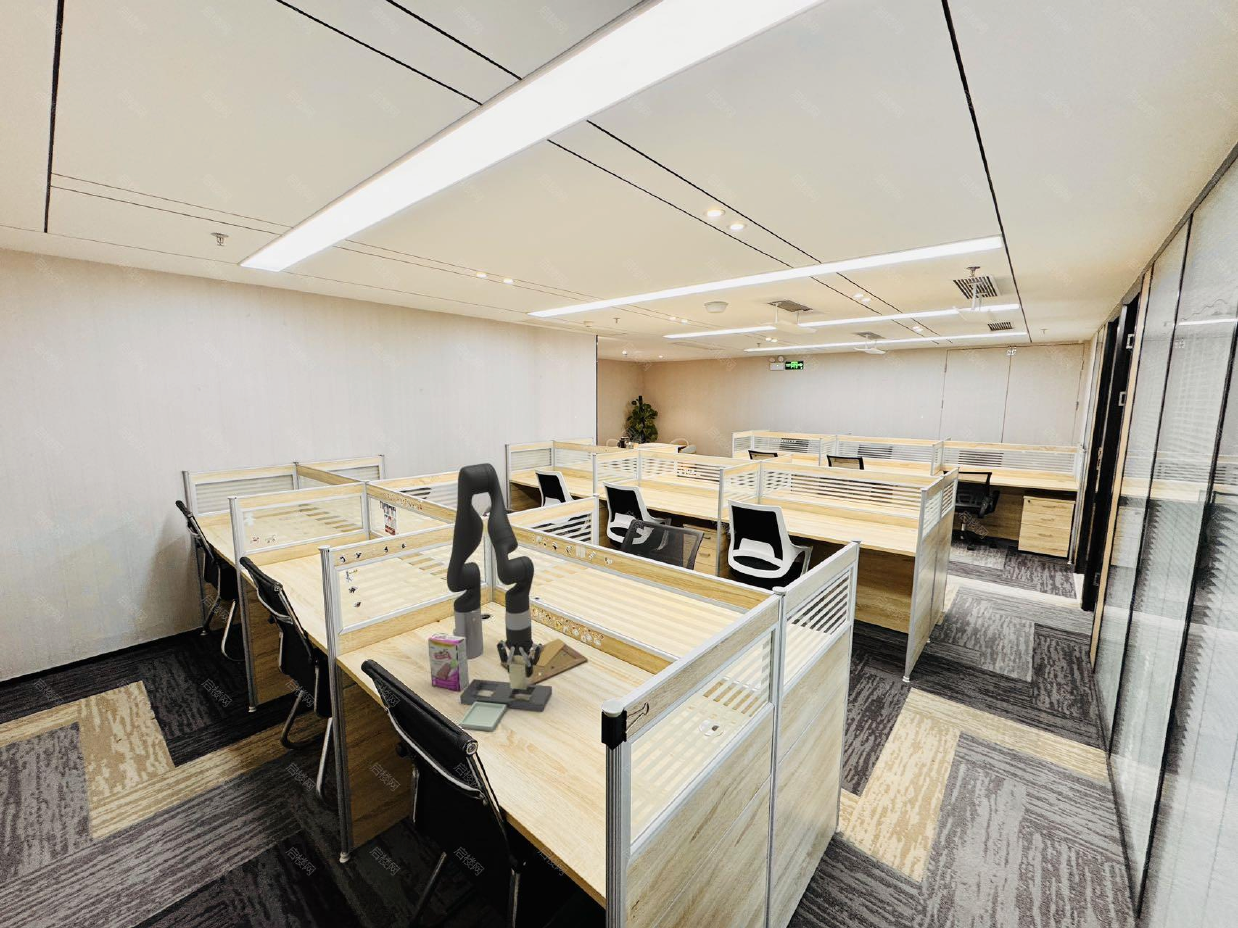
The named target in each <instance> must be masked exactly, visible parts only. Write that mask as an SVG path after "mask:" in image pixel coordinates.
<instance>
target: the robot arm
mask: <svg viewBox="0 0 1238 928" xmlns="http://www.w3.org/2000/svg"><path fill="white" fill-rule="evenodd" d="M485 493H488V495H489V498H490V510H489V515H488V519H487V526H486V527H487V533H488V537H489V540H490V542H491V544H492V546H493V550H494V554H495V561H496V562H495V563H496V573H497V578H498V580H499V581H500V582H501V584H502V585H505V586H511V585H513V586H511V588H509V589H508V590H506V591H505V594H504V604H505V607H504V608H505V614H504V615H505V616H504V621H505V638H506V640H502V639H501V640H500V641H499V642H498V643H497V644H496V648H497V652H498V655H499V659H500V663H501V662H506V663H507V666H508V670H507V673H508V674H509V663H510V661H512V659H513V658H514V656H517V655H519V656H523V659H524V660H525V661H526V663H527V677H528V678H530V676H531V675H532V674H533V665H536V664H537V663H538V661H539V659H540V654H541V649H542V646H543V644H542V643H538V644H537V643H534V641H533V639H532V638H533V637H532V633H533V632H532V630H533V629H532V615H531V613H532V612H531V607H530V606H531V605H530V593H531V587H532V584H533V581H534V575H535V567H534V563H533V560H532V559H531V558H530V557H529V556H526V555H522V556H517V557H515V558H511V559H509V554H511V553H513V552H515V551H516V550H517V549H518V547H519V545H518V544H519V543H518V540H517V537H516V536H515V532H514V530H513V528H512V525H511V522H510V519H509V516H508V514H507V509H506V505H505V500H504V495H503V491H502V488H501V483H500V481H499V476H498V474H497V471H496V469H495V466H493V465H492V463H488V462H487V463H486V462H485V463H479V464H478V463H477V464H472V465H465V466H463V467H461V468H460V470H459V471H458V477H457V503H456V512H455V513H456V515H455V521H454V527H453V534H452V535H453V537H452V538H453V539H452V547H451V554H450V558H449V562H448V565H447V566H448V567H447V571H446V585H447V587H448V589H449V591H450V592H452V593H461V592H463V593H462V594H461V595H460V596H459V597H457V598H456V599H454V601H453V614H454V615H453V616H454V629H453V631H452V633H453V634H452V635H454V636H460V637H466V650H467V660H469V659H474V658H477V657H479V656H480V655H482V654H483V653H484V648H485V647H484V636H483V635H484V634H483V621H482V605H481V603H482V602H481V601H482V585H481V583H482V580H481V579H482V577H481V570H480V567H479V565H478V564H477V563H476V562H474V561H471V562H467V560H468V559H469V558H470V557H471V556H472V554H474V553H475V551H476V550H477V549H478V547H479V546H480V544H481V542H482V539H483V534H484V524H485V523H484V521H483V519H482V517H481V515H480V514H479V513H478V511H477V510H476V509H475V507H474V506H473V498H474V496H476V495H480V494H485ZM506 648H507V649H508V650H509V653H507V650H506ZM532 649H533V650H534V652H535V655H534V659H533V658H532V653H531V650H532ZM509 675H510V674H509Z"/></svg>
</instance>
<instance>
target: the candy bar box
mask: <svg viewBox="0 0 1238 928" xmlns="http://www.w3.org/2000/svg"><path fill="white" fill-rule="evenodd" d="M427 642H428V644H427V645H428V654H429V663H430V665H429V666H430V677H431V678H430V679H431V686H432V687H433V686H434V687H438V688H442V689H446V690H447V689H448V690H451V691H456V692H462V691H463V690H464V689H466V688H467V687H468V686H469V684H470V681H469V669H468V668H469V667H468V659H467V650H466V637H460V636H454V635H453V634H448V633H443V632H436V633H435V634H433V635H432V636H430V637H429V638H428V639H427Z"/></svg>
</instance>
